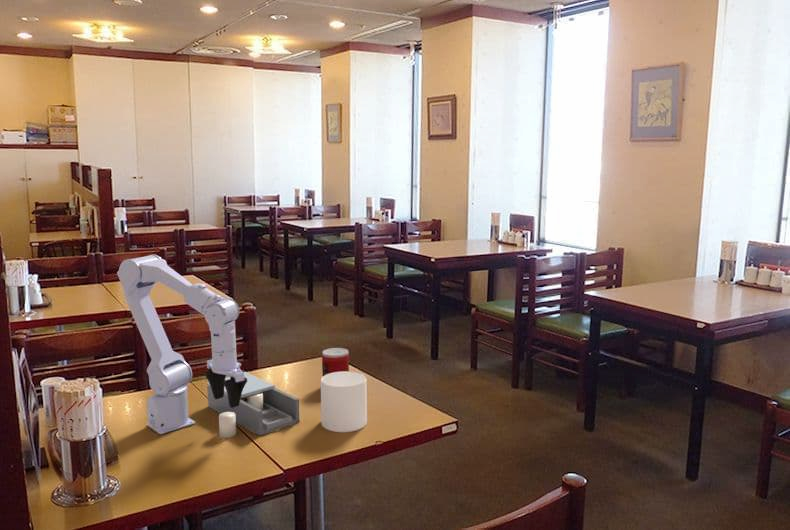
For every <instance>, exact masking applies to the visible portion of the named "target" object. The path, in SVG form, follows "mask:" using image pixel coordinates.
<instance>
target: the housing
mask: <svg viewBox="0 0 790 530" xmlns="http://www.w3.org/2000/svg"><path fill="white" fill-rule="evenodd" d="M206 387H207V405H208V408H210V409H212V410H213V411H216V412H218V413H219V415H220V414H221V413H224V412H234V413H235V415H236V424H238V425H240V426H241V427H243V428H245V429H247V430H248V431H251V432H252V433H254V434H256V435H257V436H263V435H266V434H269V433H272V432H275V431H278V430H280V429H283V428H286V427H289V426H292V425H295V424H298V423H300V399H299V398H298V397H296V396H294V395H291V394H289V393H287V392H285V391H282V390H280V389H278V388H276V387H275V388H273V389H270V390H266V391H263V392H262V393H263V411H262V410H260V409H258V408H256V407H254V406H252V405H250V404H248V402H247V401H245V400H242V398H241V399H240V403H239V406H237V407H234V408H231V407H230V405H229V400H228V395H226V394H224V396H223V398H219V399H215V398H214V396H213V392H212V389H211V387H210V386H208V385H207V384H206ZM245 398H246V399H248V398H247V396H246V397H245Z"/></svg>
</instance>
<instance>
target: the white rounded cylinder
mask: <svg viewBox="0 0 790 530" xmlns="http://www.w3.org/2000/svg"><path fill="white" fill-rule="evenodd" d="M218 427H219V429H218V430H219V437H220V438H226V439H227V438H231V437H234V436H236V435H237V423H236V415H235V413H234V412H224V413H221V414H220V413H219V415H218Z"/></svg>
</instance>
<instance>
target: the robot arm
mask: <svg viewBox="0 0 790 530" xmlns="http://www.w3.org/2000/svg"><path fill="white" fill-rule="evenodd" d="M117 277H118V279H119V282H120V284H121V287H122V288H123V295H124V298H125V301H126V303H127V306H128V308H129V310H130V313H131V314H132V317H133V319H134V322H135V324H136V327H137V329H138V331H139V333H140V336H141V339H142V340H143V343H144V345H145V347H146V350H147V353H148V354H149V357H150V359H151V361H150V363H149V364H148V366H147V369H146V373H147V374H148V381H149V387H150V389H151V390H152V392H153V393H154V394H153V395H150V396H148V397H147V399H146V411H147V413H146V414H147V423H146V426H147V427H149V428H150V429H152V430H153V431H154V432H156V433H157V434H159V435H163V434H165V433H169V432H172V431H175V430H179V429H181V428H185V427H188V426H192V425H196V421H195V420H193V419H192V418H190V417H189V405H188V404H189V403H188V388H189V383H190V382H191V381H192V378H193V371H192V368H191V366H190V365H189V364H188V362H186V360H185V358H184V356H183V355H182V354H181V353H178V352H176V351H174V350H173V348H172V346H171V343H170V341H169V338H168V336H167V334H166V331H165V328H164V327H163V325H162V322H161V320H160V317H159V315H158V313H157V310H156V308H155V305H154V303H153V301H152V298H151V296H150V293H151V291H152V289H153V287H155V285H156V284H157V282H158V283H160V284H162V285H164V286H166V287H167V288H169V289H171V290H173V291H175V292H176V293H178V294H179V295H182V296H183V301H184V303H185V304H186V305H188V306H190V308H192V309H194V310H196V311H197V312H198V313H201V315H203V316H204V319H205V322H206V323H207V324H208V328H209V331H210V339H211V341H210V343H211V358H212V359H209V360H206V368H207V369H209V370H206V371H204V374H203V375H204V376H205V378H206V379H207V382H209V384H210V386H211V389H212V392H213V396H214V398H215V399H219V398H223V396H224V386H225V388H226V391H227V394H228V400H229V405H230V407H231V408H234V407H237V406H239V403H240V399H241V400H242V398H241V394H242V391H243V388H244V386H245V384H246V383H247V378H245V377H244V372H245V371H242V370H241V366H242V363H240V362H238V359H237V342H236V341H237V339H236V336H237V335H236V320H237V319H238V317H239V315H240V307H239V304H238V303H237V302H236V301H235V300H234V299H233V298H232V297H225V298H224V297H222V296H221V295H220V294H216V293H215V292H213V291H212V290H210V289H209V288H207V285H206V284H205V283H194V284H192V283H191V282H190V281H188V279H186V278H185V277H183V276H182V275H181V274H179V273H178V272H177V271H175V270H174V269H173V268H172V267H171V266H169V265H168V263H167V261H166V260H165V259H163V258H162V257H161V256H159V255H157V254H148V255H145V256H141V257H135V258H126V259H124V260H122V262H121V263H120V265H119V269H118V271H117ZM165 366H166V367H165ZM226 375H227V376H229V377H230V379H229V380H225V377H226Z"/></svg>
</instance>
